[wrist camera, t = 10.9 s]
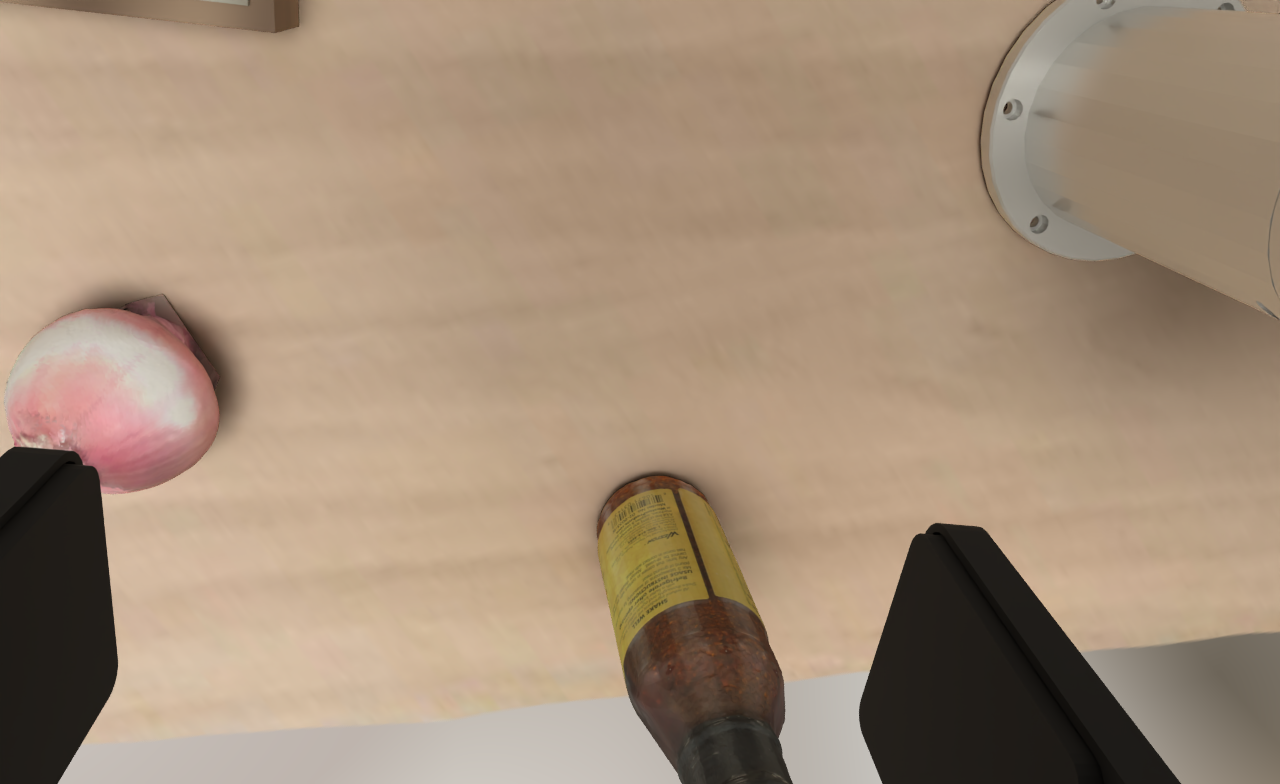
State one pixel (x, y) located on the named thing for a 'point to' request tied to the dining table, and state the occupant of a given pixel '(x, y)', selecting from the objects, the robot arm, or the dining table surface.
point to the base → (192, 11)
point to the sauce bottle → (691, 636)
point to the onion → (117, 394)
